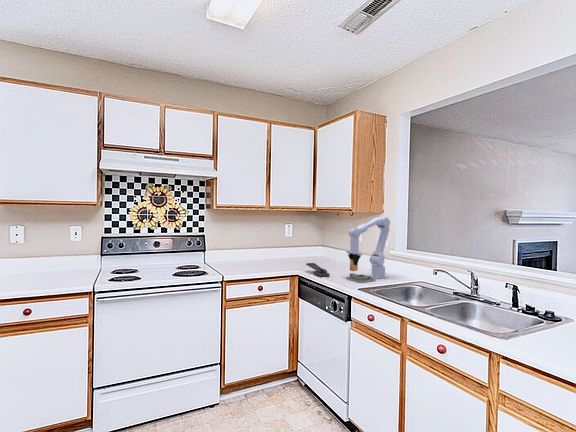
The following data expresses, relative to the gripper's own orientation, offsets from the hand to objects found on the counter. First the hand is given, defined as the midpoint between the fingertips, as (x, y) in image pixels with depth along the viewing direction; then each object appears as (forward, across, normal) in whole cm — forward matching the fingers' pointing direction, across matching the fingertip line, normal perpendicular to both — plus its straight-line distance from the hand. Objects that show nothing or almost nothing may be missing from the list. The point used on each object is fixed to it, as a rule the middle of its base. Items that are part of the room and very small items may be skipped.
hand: (354, 264), depth 233 cm
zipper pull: (+10, -25, -14) cm, 30 cm away
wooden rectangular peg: (+4, 0, 0) cm, 4 cm away
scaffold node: (+10, +3, +2) cm, 11 cm away
